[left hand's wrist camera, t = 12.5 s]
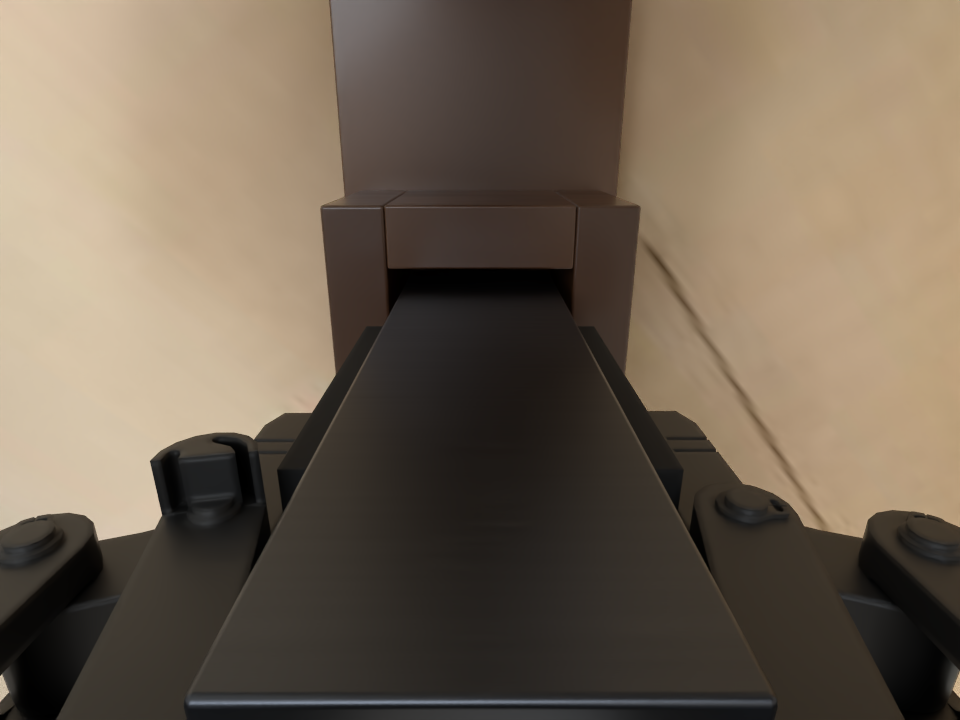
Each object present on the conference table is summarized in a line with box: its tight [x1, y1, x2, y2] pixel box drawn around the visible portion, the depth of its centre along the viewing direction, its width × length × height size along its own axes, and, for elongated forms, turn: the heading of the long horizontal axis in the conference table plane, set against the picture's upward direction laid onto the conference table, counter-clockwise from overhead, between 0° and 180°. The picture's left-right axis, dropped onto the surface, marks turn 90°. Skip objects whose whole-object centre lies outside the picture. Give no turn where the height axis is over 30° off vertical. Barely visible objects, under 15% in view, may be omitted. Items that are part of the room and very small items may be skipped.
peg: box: [184, 271, 778, 720], centre depth 11 cm, size 4×4×14 cm
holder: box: [320, 0, 640, 375], centre depth 14 cm, size 9×26×12 cm, turn 0°
